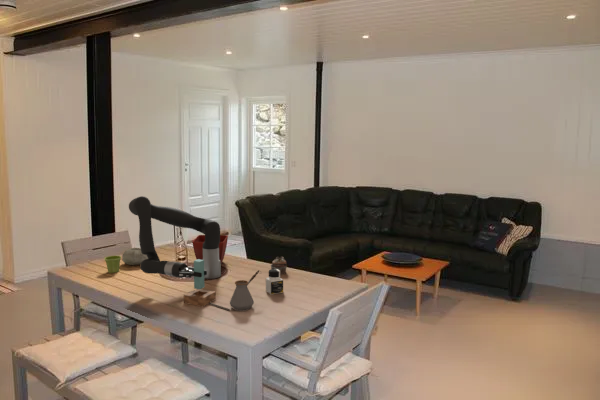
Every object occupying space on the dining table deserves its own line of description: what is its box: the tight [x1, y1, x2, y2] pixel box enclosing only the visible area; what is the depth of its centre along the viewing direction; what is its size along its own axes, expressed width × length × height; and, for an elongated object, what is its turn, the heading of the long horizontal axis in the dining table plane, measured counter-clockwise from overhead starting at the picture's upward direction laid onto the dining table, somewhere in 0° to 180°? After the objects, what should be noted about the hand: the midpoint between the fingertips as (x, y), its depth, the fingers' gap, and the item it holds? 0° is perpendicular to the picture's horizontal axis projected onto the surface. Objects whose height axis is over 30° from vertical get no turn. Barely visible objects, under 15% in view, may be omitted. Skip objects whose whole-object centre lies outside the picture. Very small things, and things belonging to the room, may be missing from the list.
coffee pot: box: [229, 269, 262, 312], centre depth 238 cm, size 21×12×15 cm, turn 151°
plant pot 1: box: [104, 255, 122, 274], centre depth 292 cm, size 9×9×9 cm
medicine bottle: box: [265, 268, 284, 295], centre depth 258 cm, size 7×7×12 cm
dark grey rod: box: [208, 302, 230, 312], centre depth 236 cm, size 14×1×1 cm, turn 51°
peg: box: [193, 259, 205, 290], centre depth 242 cm, size 4×4×14 cm
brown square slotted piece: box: [183, 288, 217, 307], centre depth 244 cm, size 11×11×4 cm
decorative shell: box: [121, 247, 148, 266], centre depth 309 cm, size 18×18×10 cm
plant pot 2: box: [192, 234, 229, 264], centre depth 309 cm, size 19×19×17 cm
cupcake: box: [270, 256, 288, 276], centre depth 291 cm, size 10×10×10 cm
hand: (203, 274), depth 241 cm, fingers closed on peg, 3 cm apart
